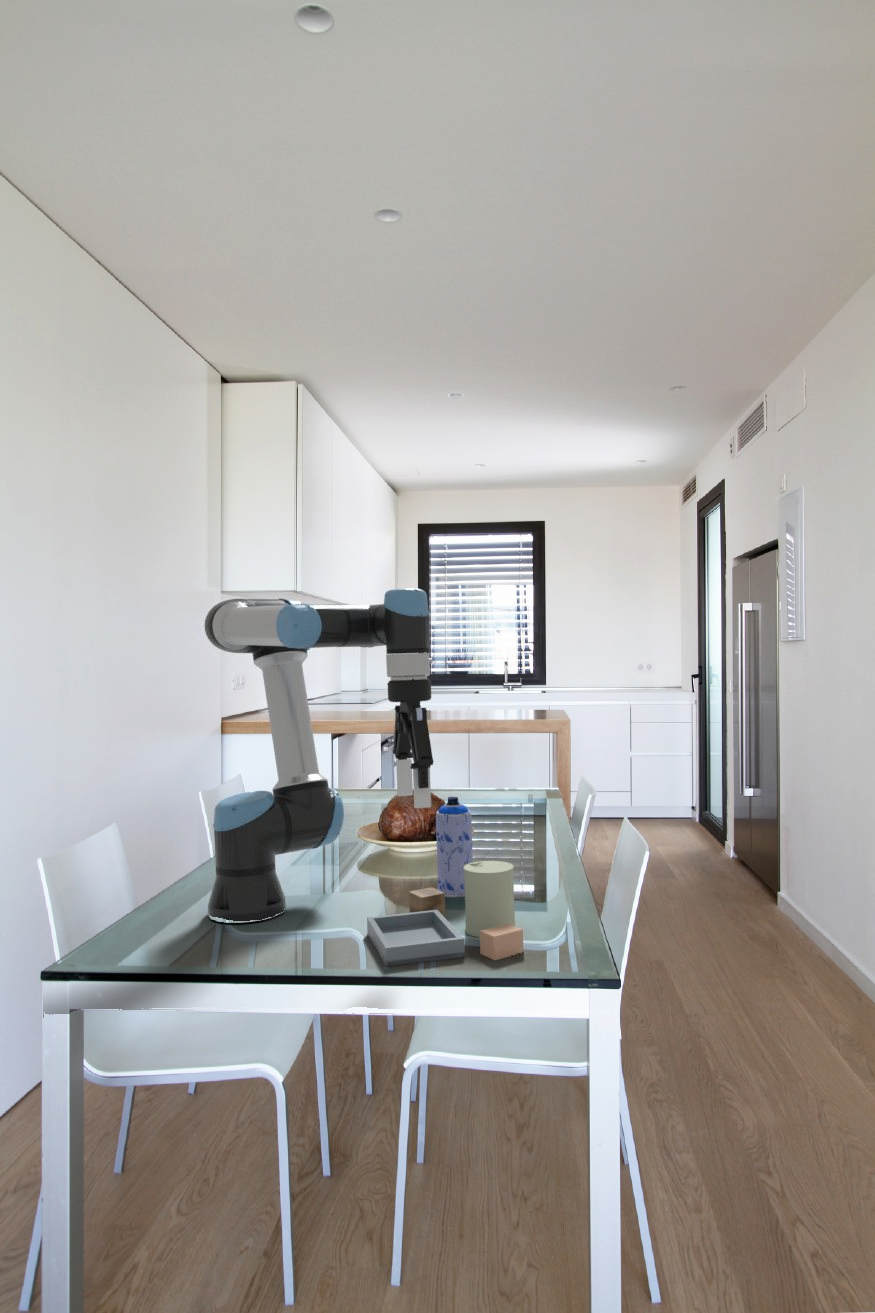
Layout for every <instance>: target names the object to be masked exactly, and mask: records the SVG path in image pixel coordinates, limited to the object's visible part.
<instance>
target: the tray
mask: <svg viewBox="0 0 875 1313" xmlns="http://www.w3.org/2000/svg"><path fill="white" fill-rule="evenodd" d="M366 924H367V925H366V926H367V928H366V929H367V936H368V937H369V940H370V941H371V943H372V942H373V943H372V945H373V946H374V945H375V946H374V948H375V947H376V948H375V950H376V949H377V950H378V951H377V950H376V951H377V953H378V952H379V953H378V955H379V957H380V958H381V960H382V961H383V963H384V965H385V967H387V968H388V967H394V966H402V965H410V964H418V963H419V964H420V963H426V962H434V961H443V960H449V959H451V960H452V959H456V958H464V957H466V956H465V939H464V937H463V935H461V933H459V931H458V930H457V929H456V928H455V927H454V925H452V923H450V921H448V919H446V916H445V917H444V916H443V915H442V914H441V913H440V912H439V911H438V910H430V911H421V912H412V913H410V912H404V913H395V914H387V915H378V916H369V917H366Z"/></svg>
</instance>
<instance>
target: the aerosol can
mask: <svg viewBox="0 0 875 1313" xmlns="http://www.w3.org/2000/svg"><path fill="white" fill-rule="evenodd" d="M472 828H473V827H472V814H471V810H470V809H468V807H467V806H466V805H464V804H463V803H461V802H459V797H458V796H448V797H447V803H445V804H443V805H442V806H440V808H439V809H438V810H437V811H436V815H435V830H436V832H435V834H436V835H435V836H436V855H437V856H436V861H437V862H436V863H437V864H436V865H437V890H439V891H441V892H443V893H445V898H463V897H464V898H465V882H464V869H463V868H464V866H465V865H466V864H469V863H472V862H474V860H473V831H472V830H473V829H472Z"/></svg>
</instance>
